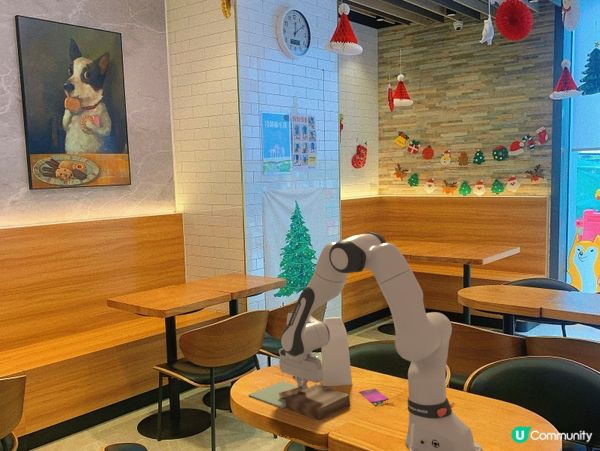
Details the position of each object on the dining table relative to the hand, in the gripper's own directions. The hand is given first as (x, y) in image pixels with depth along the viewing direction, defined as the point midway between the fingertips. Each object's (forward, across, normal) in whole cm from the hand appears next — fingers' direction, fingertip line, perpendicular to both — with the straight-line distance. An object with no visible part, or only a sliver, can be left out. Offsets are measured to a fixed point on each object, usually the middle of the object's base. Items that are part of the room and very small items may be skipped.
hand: (302, 388), depth 209 cm
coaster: (+3, +5, 0) cm, 6 cm away
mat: (+5, +11, 0) cm, 12 cm away
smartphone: (+6, -19, -19) cm, 28 cm away
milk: (+5, +5, -24) cm, 25 cm away
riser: (+5, -8, 0) cm, 9 cm away
